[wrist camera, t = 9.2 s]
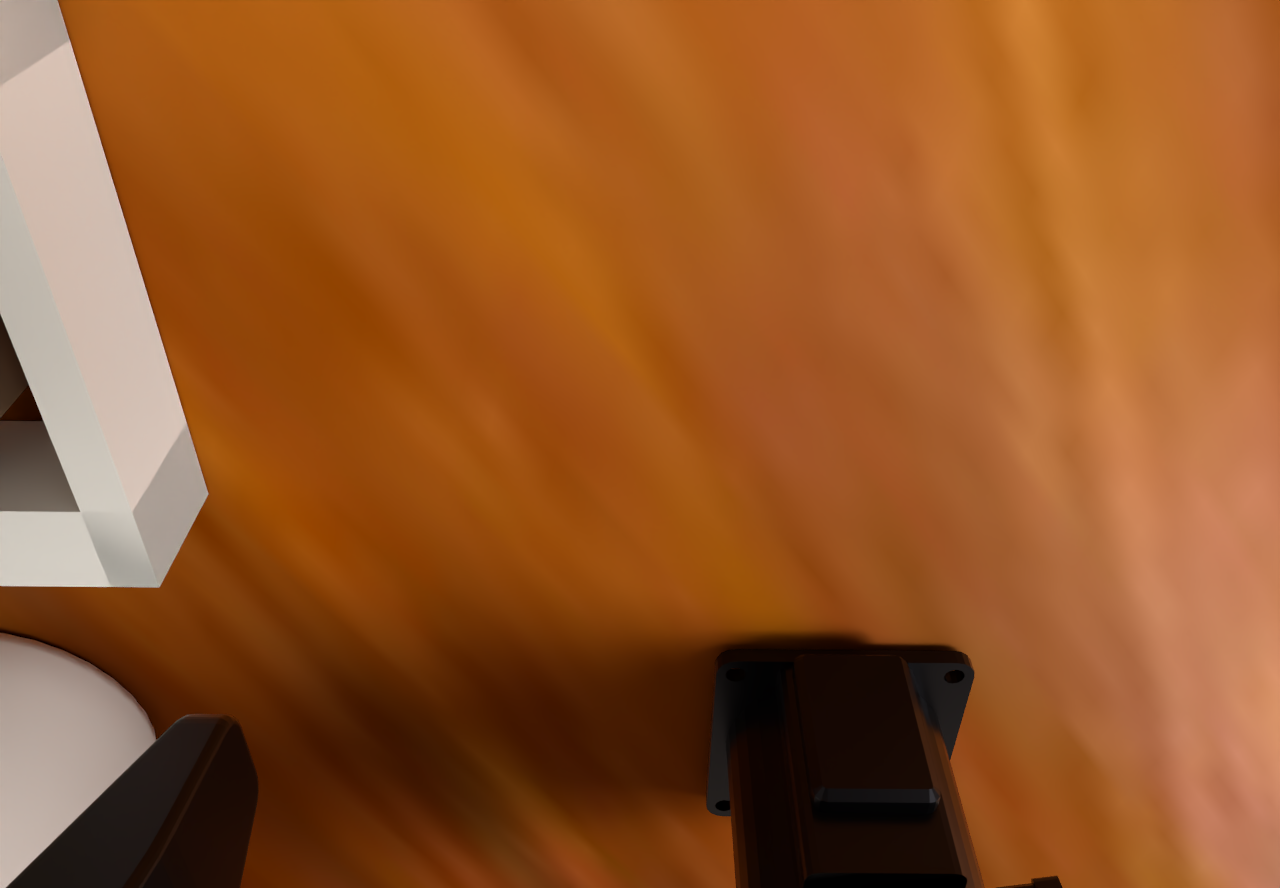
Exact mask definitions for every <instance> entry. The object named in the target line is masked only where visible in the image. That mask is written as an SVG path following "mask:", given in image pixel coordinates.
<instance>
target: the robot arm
mask: <svg viewBox="0 0 1280 888" xmlns="http://www.w3.org/2000/svg"><path fill="white" fill-rule="evenodd" d="M733 668H740V669H735V670H734V669H733ZM951 670H954V671H951ZM973 679H974V670H973V667H972V664H971V660H970V659H969V657H968V656H967V655H966V654H964V653H962V652H957V651H884V650H767V649H734V650H728V651H725V652H723V653H721V654H720V655H719V656H718V657H717V659H716V662H715V674H714V687H713V701H712V715H711V729H710V743H709V757H708V771H707V785H706V805H707V809H708V810H709V811H710V812H711V813H712V814H715V815H718V816H731V823H732V837H733V851H734V865H735V878H736V888H984V884H983V880H982V877H981V873H980V869H979V866H978V862H977V858H976V855H975V851H974V847H973V844H972V840H971V837H970V833H969V829H968V826H967V822H966V818H965V815H964V811H963V807H962V804H961V800H960V796H959V793H958V789H957V786H956V782H955V778H954V775H953V771H952V767H951V764H950V759H951V755H952V752H953V748H954V745H955V741H956V738H957V734H958V731H959V728H960V724H961V721H962V717H963V714H964V710H965V707H966V703H967V700H968V696H969V693H970V690H971V686H972V683H973ZM257 800H258V777H257V772H256V769H255V766H254V763H253V760H252V757H251V754H250V751H249V748H248V745H247V743H246V740H245V737H244V734H243V731H242V728H241V725H240V723H239V721H238V720H237V719H236V718H235V717H234V716H232V715H228V714H190V715H186V716H184V717H182V718H180V719H179V720H177V721H176V722H175V723H174V724H173V725H171V726H170V727H169V728H168V729H167V730H166V731H165V732H164V733H163V734H162V735H161V736H160V737H159V738H158V739H157V740H156V741H155V742H154V743H153V744H152V745H151V746H150V747H149V748H148V749H147V750H146V751H145V752H144V753H143V754H142V755H141V756H140V757H139V758H138V759H137V760H136V761H135V762H134V763H133V764H132V765H131V766H130V767H129V768H127V769H126V770H125V771H124V772H123V773H122V774H121V775H120V776H119V777H118V778H117V779H116V780H115V781H114V782H113V783H112V784H111V785H110V786H109V787H108V788H107V789H106V790H105V791H104V792H103V793H102V794H101V795H100V796H99V797H98V798H97V799H96V800H95V801H94V802H93V803H92V804H91V805H90V806H89V807H88V808H87V809H86V810H84V811H83V812H82V813H81V814H80V815H79V816H78V817H77V818H76V819H75V820H74V821H73V822H72V823H71V824H70V825H69V826H68V827H67V828H66V829H65V830H64V831H63V832H62V833H61V834H60V835H59V836H58V837H57V838H56V839H55V840H54V841H53V842H52V843H51V844H50V845H49V846H48V847H47V848H46V849H45V850H44V851H43V852H42V853H40V854H39V855H38V856H37V857H36V858H35V859H34V860H33V861H32V862H31V863H30V864H29V865H28V866H27V867H26V868H25V869H24V870H23V871H22V872H21V873H20V874H19V875H18V876H17V877H16V878H15V879H14V880H13V881H12V882H11V883H10V884H9V885H8V886H7V887H6V888H240V885H241V880H242V875H243V870H244V865H245V860H246V855H247V851H248V846H249V841H250V836H251V831H252V826H253V821H254V816H255V811H256V806H257ZM997 888H1062V886H1061V883H1060V881H1059V879H1058V877H1057V876H1050V877H1042V878H1034V879H1032V880H1031V883H1030V884H1022V885H1014V886H1006V887H997Z"/></svg>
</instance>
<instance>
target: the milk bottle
mask: <svg viewBox="0 0 1280 888" xmlns="http://www.w3.org/2000/svg"><path fill="white" fill-rule="evenodd" d="M155 741H156V736H155V729H154V728H153V726H152V724H151V722H150V720H149V718H148V715H147V713H146V712H145V710H144V709H143V708H142V707H141V706H140V704H139V703H138V702H137V701H136V699H135V698H134V697H133V695H132V694H130V693H129V692H128V691H127V690H126V689H125V688H123V687H122V686H121V685H120V684H119V683H118V682H117V681H116V680H115V679H114V678H112V677H110V676H109V675H107V674H106V673H104V672H102V671H101V670H100V669H98V668H97V667H95V666H94V665H92V664H91V663H89V662H87V661H84V660H82V659H80V658H78V657H76V656H74V655H72V654H70V653H68V652H66V651H64V650H61V649H58V648H55V647H52V646H50V645H47V644H44V643H41V642H39V641H36V640H32V639H27V638H23V637H18V636H14V635H10V634H6V633H0V888H6V887H7V886H8V885H9V884H10V883H11V882H12V881H13V880H14V879H15V878H16V877H17V876H18V875H19V874H20V873H21V872H22V871H23V870H24V869H25V868H26V867H27V866H28V865H29V864H30V863H31V862H32V861H33V860H34V859H35V858H36V857H37V856H38V855H39V854H40V853H42V852H43V851H44V850H45V849H46V848H47V847H48V846H49V845H50V844H51V843H52V842H53V841H54V840H55V839H56V838H57V837H58V836H59V835H60V834H61V833H62V832H63V831H64V830H65V829H66V828H67V827H68V826H69V825H70V824H71V823H72V822H73V821H74V820H75V819H76V818H77V817H78V816H79V815H80V814H81V813H82V812H83V811H84V810H86V809H87V808H88V807H89V806H90V805H91V804H92V803H93V802H94V801H95V800H96V799H97V798H98V797H99V796H100V795H101V794H102V793H103V792H104V791H105V790H106V789H107V788H108V787H109V786H110V785H111V784H112V783H113V782H114V781H115V780H116V779H117V778H118V777H119V776H120V775H121V774H122V773H123V772H124V771H125V770H126V769H127V768H129V767H130V766H131V765H132V764H133V763H134V762H135V761H136V760H137V759H138V758H139V757H140V756H141V755H142V754H143V753H144V752H145V751H146V750H147V749H148V748H149V747H150V746H151V745H152V744H153V743H154V742H155Z"/></svg>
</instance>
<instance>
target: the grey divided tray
mask: <svg viewBox="0 0 1280 888" xmlns="http://www.w3.org/2000/svg"><path fill="white" fill-rule="evenodd" d="M0 314H1V317H2V319H3V322H4V324H5V327H6V329H7V332H8V334H9V337H10V339H11V342H12V344H13V347H14V349H15V351H16V354H17V356H18V359H19V361H20V364H21V366H22V369H23V371H24V374H25V376H26V379H27V381H28V384H29V386H30V389H31V391H32V394H33V396H34V399H35V401H36V403H37V406H38V408H39V411H40V413H41V416H42V418H43V421H0V586H63V587H160V585H161V584H162V582H163V580H164V578H165V576H166V574H167V572H168V570H169V568H170V566H171V565H172V563H173V561H174V559H175V557H176V555H177V553H178V551H179V549H180V547H181V545H182V544H183V542H184V540H185V538H186V536H187V534H188V532H189V530H190V528H191V526H192V524H193V523H194V521H195V519H196V517H197V515H198V513H199V511H200V509H201V507H202V505H203V504H204V502H205V500H206V498H207V496H208V491H207V488H206V485H205V481H204V478H203V475H202V472H201V468H200V465H199V462H198V458H197V455H196V452H195V449H194V445H193V442H192V439H191V436H190V432H189V429H188V426H187V422H186V419H185V416H184V413H183V409H182V406H181V403H180V400H179V396H178V393H177V390H176V386H175V383H174V380H173V377H172V373H171V370H170V367H169V363H168V360H167V357H166V354H165V350H164V347H163V344H162V341H161V337H160V334H159V331H158V327H157V324H156V321H155V318H154V314H153V311H152V308H151V305H150V301H149V298H148V295H147V291H146V288H145V285H144V282H143V278H142V275H141V272H140V269H139V265H138V262H137V259H136V255H135V252H134V249H133V246H132V242H131V239H130V236H129V233H128V229H127V226H126V223H125V219H124V216H123V213H122V210H121V206H120V203H119V200H118V197H117V193H116V190H115V187H114V183H113V180H112V177H111V174H110V170H109V167H108V164H107V161H106V157H105V154H104V151H103V147H102V144H101V141H100V138H99V134H98V131H97V128H96V125H95V121H94V118H93V115H92V111H91V108H90V105H89V102H88V98H87V95H86V92H85V89H84V85H83V82H82V79H81V75H80V72H79V69H78V66H77V62H76V59H75V56H74V53H73V49H72V46H71V43H70V39H69V36H68V33H67V30H66V26H65V23H64V20H63V17H62V13H61V10H60V7H59V3H58V0H0Z"/></svg>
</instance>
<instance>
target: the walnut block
mask: <svg viewBox="0 0 1280 888" xmlns="http://www.w3.org/2000/svg"><path fill="white" fill-rule="evenodd" d="M28 385H29V384H28V381H27V379H26V376H25V374H24V371H23V369H22V366H21V364H20V361H19V359H18V356H17V354H16V351H15V349H14V347H13V344H12V342H11V339H10V337H9V334H8V332H7V329H6V327H5V324H4V322H3V319H2V317H1V314H0V418H1V417H2V416H3V414H4V413H5V412H6V411H7V410H8V409H9V407H10V406H11V405H12V404H13V403H14V402H15V400H16V399H17V398H18V397H19V396H20V395H21V393H22V392H23V391H24V390H25V389H26V387H27V386H28Z"/></svg>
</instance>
